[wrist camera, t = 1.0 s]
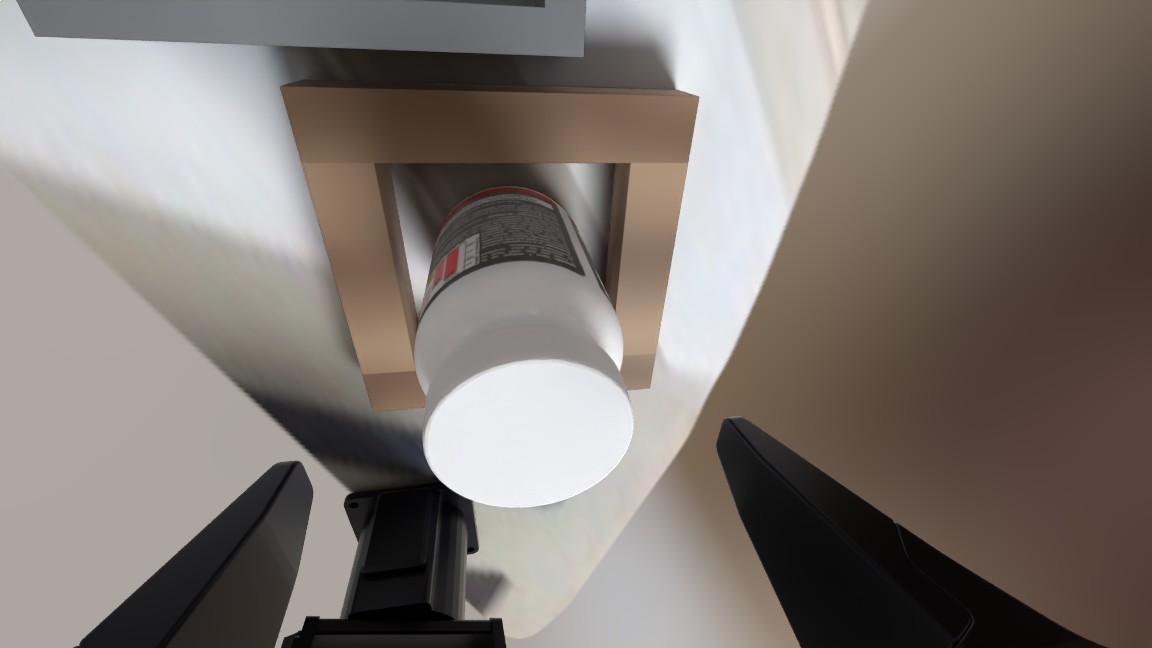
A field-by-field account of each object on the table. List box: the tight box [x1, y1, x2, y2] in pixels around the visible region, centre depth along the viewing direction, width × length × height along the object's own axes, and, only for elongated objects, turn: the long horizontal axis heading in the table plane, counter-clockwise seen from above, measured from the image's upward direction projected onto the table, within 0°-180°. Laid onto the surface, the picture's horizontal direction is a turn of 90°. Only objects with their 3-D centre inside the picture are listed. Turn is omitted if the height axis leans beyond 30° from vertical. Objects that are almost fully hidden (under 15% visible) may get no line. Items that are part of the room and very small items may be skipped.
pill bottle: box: [414, 186, 634, 507], centre depth 14 cm, size 6×6×10 cm
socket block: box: [280, 80, 699, 412], centre depth 17 cm, size 12×12×2 cm
